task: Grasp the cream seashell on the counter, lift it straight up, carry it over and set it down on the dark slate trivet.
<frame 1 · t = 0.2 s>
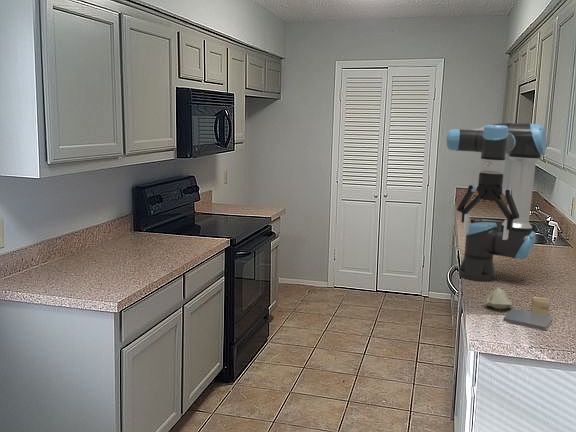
hand: (484, 235, 191), 27 cm above the counter, fingers open, 13 cm apart
oak block: (539, 313, 199), on the counter
seashell: (498, 309, 201), on the counter
slate trivet: (528, 320, 190), on the counter
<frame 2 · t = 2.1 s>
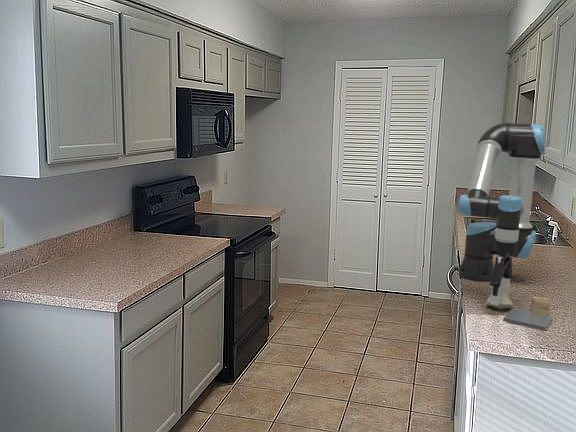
hand: (499, 300, 200), 3 cm above the counter, fingers open, 13 cm apart
nothing on the counter moved.
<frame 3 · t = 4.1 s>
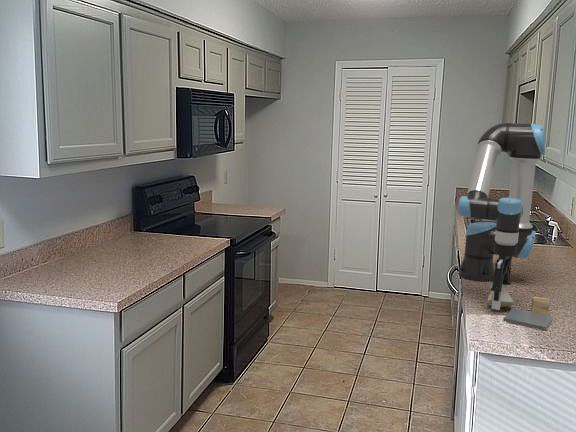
hand: (499, 305, 202), 1 cm above the counter, fingers closed on seashell, 8 cm apart
seashell: (500, 307, 201), point 1 cm above the counter, touching gripper
everything else where it was.
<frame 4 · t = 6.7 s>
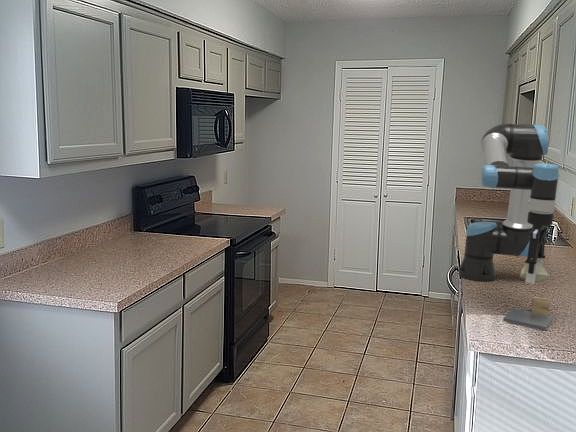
hand: (532, 279, 188), 14 cm above the counter, fingers closed on seashell, 8 cm apart
seashell: (534, 281, 188), point 14 cm above the counter, touching gripper
everything else where it was.
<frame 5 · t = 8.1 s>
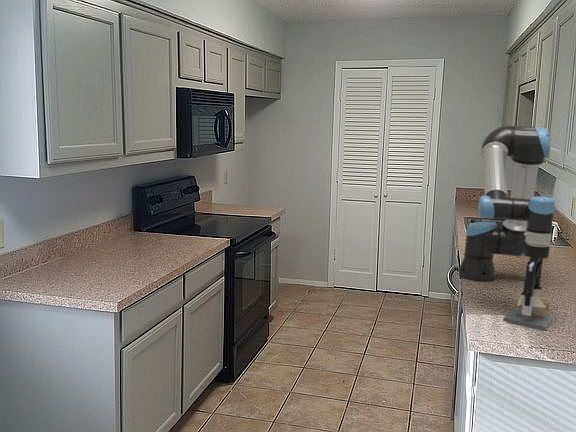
hand: (529, 311, 190), 3 cm above the counter, fingers closed on seashell, 8 cm apart
seashell: (531, 312, 189), point 3 cm above the counter, touching gripper
everything else where it was.
when the fingers open (2 cm above the counter, at t = 9.2 s): seashell stays where it is, resting on slate trivet.
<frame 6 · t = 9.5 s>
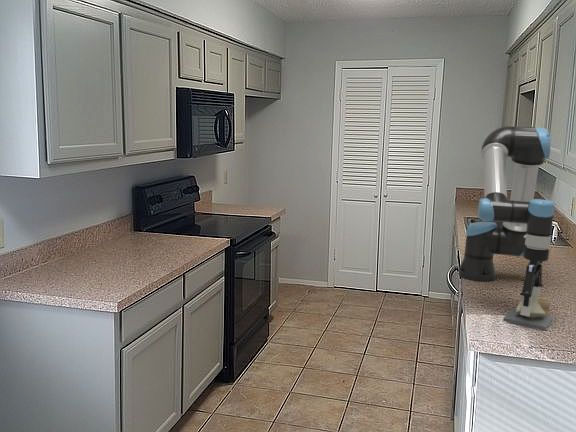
hand: (529, 310, 190), 4 cm above the counter, fingers open, 13 cm apart
seashell: (530, 318, 190), point 1 cm above the counter, touching slate trivet
everything else where it was.
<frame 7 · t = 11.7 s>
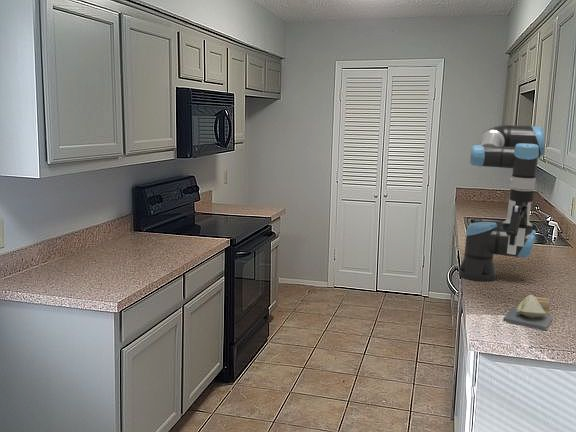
hand: (515, 249, 199), 21 cm above the counter, fingers open, 13 cm apart
nothing on the counter moved.
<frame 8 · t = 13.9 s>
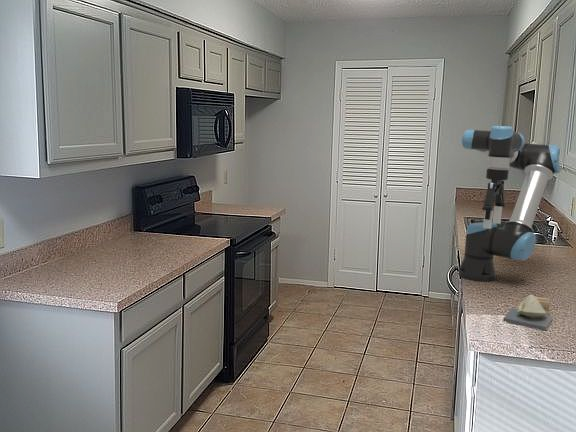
hand: (491, 225, 213), 27 cm above the counter, fingers open, 13 cm apart
nothing on the counter moved.
at the end: seashell inside the target area on the slate trivet (1.0 cm from its centre), point 1.0 cm above the slate trivet's base; the gripper is holding nothing; oak block moved 0.1 cm from its start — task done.
